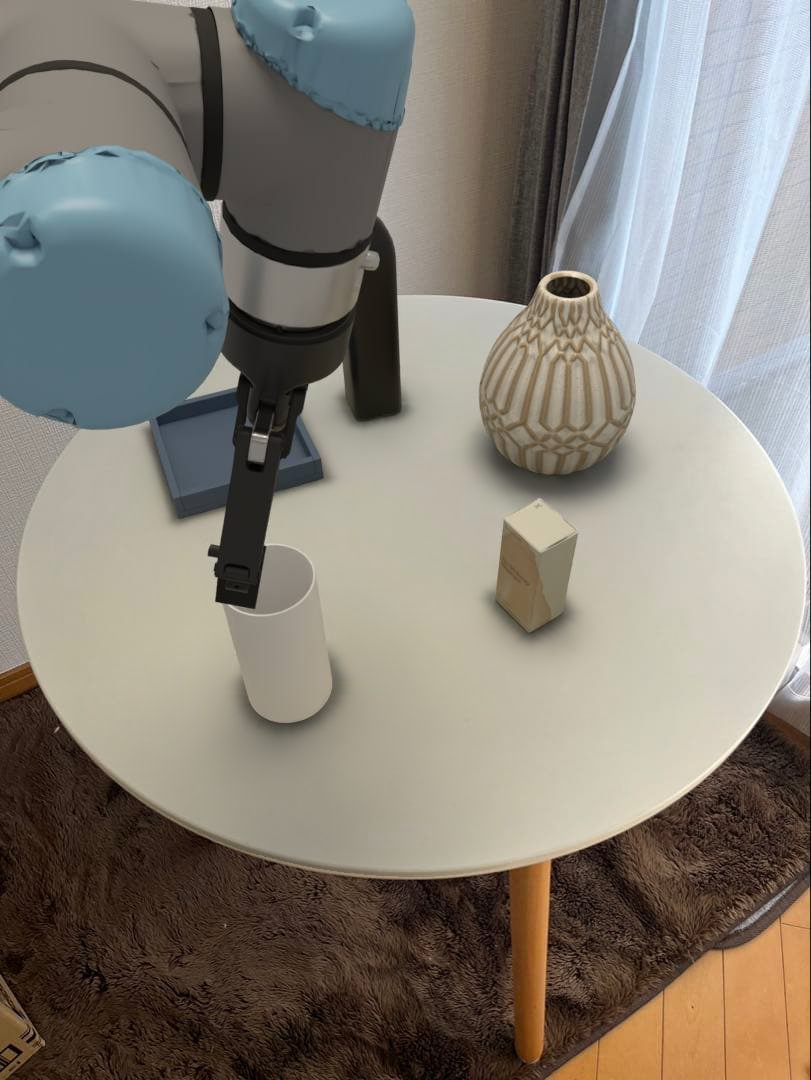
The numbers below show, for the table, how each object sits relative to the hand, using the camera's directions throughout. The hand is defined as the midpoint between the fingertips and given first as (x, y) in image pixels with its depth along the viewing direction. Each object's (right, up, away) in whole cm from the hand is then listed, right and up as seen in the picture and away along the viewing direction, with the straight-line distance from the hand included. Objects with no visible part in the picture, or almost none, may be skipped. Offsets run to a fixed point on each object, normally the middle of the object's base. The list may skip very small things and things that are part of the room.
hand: (253, 522), depth 65 cm
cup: (+1, -14, +13) cm, 19 cm away
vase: (+27, +8, +33) cm, 44 cm away
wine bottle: (+7, +14, +39) cm, 43 cm away
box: (+22, -8, +18) cm, 30 cm away
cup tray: (-8, +8, +34) cm, 36 cm away
